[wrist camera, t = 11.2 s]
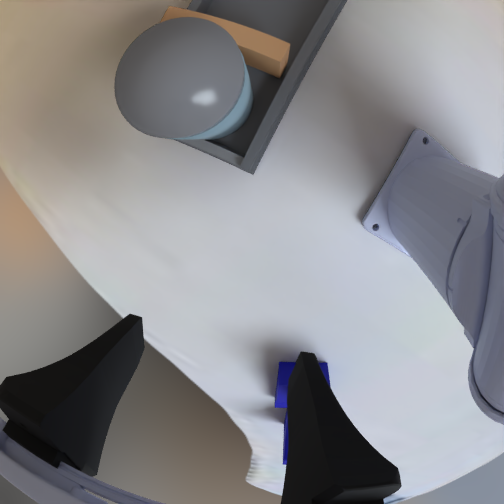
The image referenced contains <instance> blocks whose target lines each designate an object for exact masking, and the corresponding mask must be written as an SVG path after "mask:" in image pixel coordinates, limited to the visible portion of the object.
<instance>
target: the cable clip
mask: <svg viewBox="0 0 504 504" xmlns="http://www.w3.org/2000/svg"><path fill="white" fill-rule="evenodd" d="M295 364H296V362H279V368H278V377H277V386H276V394H275V408H287V390H288V379H289V377H290V375H291V373H292V370H293V368H294V366H295ZM319 365H320V367H321V370H322V372H323V374H324V376H325V378H326V380H327V382H328V384H329V386H330V380H329V372H328V365H327V363H319ZM330 388H331V387H330ZM287 455H288V417H287V412H286V417H285V422H284V444H283V464H285V465H287Z"/></svg>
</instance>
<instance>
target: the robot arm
mask: <svg viewBox="0 0 504 504" xmlns="http://www.w3.org/2000/svg"><path fill="white" fill-rule="evenodd" d="M424 137H425V138H426V143H425V144H424V143H423V138H424ZM374 224H378V226H377V228H376V229H372V227H373V225H374ZM362 225H363V227H364V228H365V229H366V230H367V231H369V232H371V233H372V234H374V235H376V236H377V237H379V238H381V239H382V240H384V241H386V242H387V243H389V244H391V245H392V246H394V247H395V248H397V249H399V250H400V251H402V252H403V253H405V254H407V255H408V256H410V257H411V258H413V260H414V261H415V262H416V263H417V264H418V266H419V267H420V268H421V270H422V271H423V272H424V273H425V275H426V276H427V277H428V279H429V280H430V281H431V282H432V284H433V285H434V286H435V288H436V289H437V290H438V292H439V293H440V295H441V296H442V297H443V299H444V300H445V301H446V303H447V304H448V306H449V307H450V309H451V310H452V311H453V313H454V314H455V316H456V317H457V319H458V320H459V322H460V323H461V324H462V325H463V326H464V328H465V329H464V334H465V335H466V337H467V339H468V340H469V342H470V343H471V345H472V347H473V348H474V351H473V354H472V357H471V360H470V364H469V369H468V381H469V388H470V391H471V394H472V397H473V399H474V401H475V403H476V404H477V406H478V407H479V408H480V410H481V411H482V412H483V413H484V414H485V415H487V416H488V417H489V418H491V419H492V420H494V421H495V422H498V423H501V424H503V425H504V174H503V175H502V177H501V178H497V177H495V176H493V175H490V174H488V173H485V172H483V171H480V170H477V169H475V168H472V167H470V166H467V165H464V164H461V163H460V162H459V161H458V160H457V159H456V158H454V157H453V156H452V155H451V154H450V153H449V152H448V151H447V150H446V149H445V148H443V147H442V146H441V145H440V144H439V143H438V142H437V141H435V140H434V139H433V138H432V137H431V136H429V135H428V134H427V133H426V132H424V131H423V130H421V129H416V130H414V131H413V133H412V134H411V136H410V138H409V140H408V142H407V144H406V146H405V148H404V150H403V151H402V153H401V155H400V157H399V159H398V160H397V162H396V164H395V166H394V168H393V169H392V171H391V173H390V175H389V176H388V178H387V180H386V182H385V183H384V185H383V187H382V188H381V190H380V192H379V194H378V195H377V197H376V199H375V200H374V202H373V204H372V205H371V207H370V208H369V210H368V212H367V213H366V215H365V217H364V218H363V220H362ZM143 351H144V337H143V324H142V317H139V316H136V315H133V314H129V315H128V316H126V317H125V318H124V319H122V320H121V321H120V322H119V323H117V324H116V325H115V326H113V327H112V328H111V329H109V330H108V331H107V332H105V333H104V334H102V335H101V336H100V337H98V338H97V339H96V340H94V341H93V342H91V343H90V344H88V345H86V346H85V347H83V348H82V349H80V350H78V351H77V352H75V353H73V354H72V355H70V356H68V357H66V358H64V359H62V360H60V361H57V362H55V363H53V364H51V365H48V366H46V367H43V368H40V369H37V370H34V371H31V372H27V373H23V374H19V375H14V376H9V377H6V378H5V380H4V381H3V382H2V384H1V385H0V408H1V410H2V411H3V412H4V413H5V415H6V416H7V417H8V418H9V420H8V422H7V423H6V422H5V421H4V420H3V419H2V418H0V474H1V475H2V476H3V477H4V478H5V479H7V480H8V481H9V482H10V483H12V484H13V485H14V486H15V487H17V488H18V489H19V490H21V491H22V492H23V493H25V494H26V495H27V496H29V497H30V498H32V499H33V500H35V501H36V502H37V503H39V504H108V503H107V502H106V501H104V500H102V499H100V498H98V497H96V496H94V495H92V494H90V493H88V492H86V491H85V490H84V489H86V490H88V491H90V492H92V493H94V494H97V495H99V496H101V497H103V498H106V499H108V500H111V501H113V502H115V503H118V504H164V503H161V502H157V501H154V500H151V499H148V498H144V497H141V496H138V495H136V494H133V493H130V492H127V491H124V490H122V489H119V488H116V487H114V486H112V485H109V484H107V483H105V482H102V481H100V480H98V479H96V478H93V476H95V475H97V472H98V467H99V463H100V458H101V454H102V450H103V446H104V442H105V439H106V436H107V432H108V429H109V426H110V423H111V420H112V418H113V414H114V412H115V409H116V407H117V405H118V403H119V401H120V399H121V396H122V395H123V393H124V391H125V389H126V387H127V385H128V383H129V382H130V380H131V378H132V376H133V374H134V372H135V370H136V368H137V366H138V364H139V361H140V358H141V356H142V353H143ZM287 417H288V455H287V465H286V474H285V481H284V488H283V494H282V500H281V504H384V501H383V499H384V498H386V497H387V496H389V495H391V494H393V493H395V492H396V491H398V490H399V489H400V488H401V480H400V474H399V471H398V468H397V467H396V466H395V465H393V464H392V463H391V462H389V461H388V460H387V459H386V458H384V457H383V456H382V455H381V454H380V453H379V452H378V451H377V450H376V449H374V448H373V447H372V446H371V445H370V443H369V442H368V441H367V440H366V439H365V438H364V437H363V436H362V435H361V434H360V432H359V431H358V430H357V429H356V427H355V426H354V425H353V424H352V422H351V421H350V419H349V418H348V417H347V415H346V414H345V412H344V411H343V409H342V407H341V406H340V404H339V402H338V401H337V399H336V397H335V395H334V394H333V392H332V390H331V388H330V386H329V384H328V382H327V380H326V378H325V376H324V374H323V372H322V370H321V367H320V365H319V363H318V361H317V358H316V356H315V354H314V353H308V352H300V355H299V357H298V359H297V361H296V364H295V366H294V368H293V370H292V373H291V375H290V377H289V379H288V390H287Z"/></svg>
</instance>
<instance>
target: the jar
mask: <svg viewBox="0 0 504 504" xmlns="http://www.w3.org/2000/svg"><path fill="white" fill-rule="evenodd" d="M115 97H116V101H117V104H118V107H119V109H120V111H121V113H122V115H123V116H124V118H125V119H126V120H127V121H128V122H129V123H130V124H131V125H132V126H133V127H134V128H136V129H137V130H139V131H141V132H143V133H145V134H147V135H150V136H154V137H159V138H167V139H199V140H212V139H219V138H223V137H226V136H228V135H230V134H232V133H234V132H235V131H237V130H238V129H239V128H240V127H241V126H242V125H243V124H244V123H245V122H246V121H247V119H248V117H249V116H250V113H251V111H252V108H253V103H254V92H253V88H252V84H251V81H250V77H249V74H248V71H247V67H246V64H245V61H244V57H243V55H242V53H241V51H240V49H239V47H238V45H237V43H236V41H235V40H234V39H233V37H232V36H231V35H230V34H229V33H228V32H227V31H226V30H225V29H224V28H222V27H221V26H219V25H218V24H216V23H214V22H211V21H209V20H206V19H202V18H196V17H180V18H174V19H170V20H166V21H163V22H161V23H159V24H156V25H154V26H153V27H151V28H149V29H148V30H146V31H145V32H143V33H142V34H141V35H140V36H138V37H137V38H136V39H135V40H134V41H133V42H132V44H131V45H130V46H129V47H128V49H127V50H126V51H125V53H124V55H123V57H122V58H121V61H120V63H119V65H118V68H117V72H116V77H115Z"/></svg>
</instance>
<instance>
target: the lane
mask: <svg viewBox="0 0 504 504" xmlns="http://www.w3.org/2000/svg"><path fill="white" fill-rule="evenodd" d="M346 2H347V0H192V2H191V3H190V5H189V7H188V8H187V10H191V11H195V12H199V13H203V14H207V15H211V16H214V17H218V18H221V19H225V20H228V21H231V22H234V23H237V24H240V25H243V26H246V27H249V28H252V29H255V30H258V31H260V32H263V33H265V34H268V35H271V36H273V37H276V38H278V39H280V40H283V41H285V42H287V43H290V50H289V56H288V63H287V66H286V68H285V70H284V72H283V74H282V76H281V77H280V79H279V78H277V77H275V76H273V75H270V74H268V73H266V72H263V71H261V70H259V69H256V68H254V67H251V66H249V65H246V67H247V71H248V74H249V77H250V81H251V84H252V88H253V92H254V103H253V108H252V111H251V113H250V116H249V117H248V119H247V121H246V122H245V123H244V124H243V125H242V126H241V127H240V128H239V129H238V130H237V131H235V132H234V133H232V134H230V135H228V136H226V137H223V138H219V139H212V140H199V139H174V140H176V141H179V142H181V143H183V144H186V145H188V146H190V147H193V148H195V149H198V150H200V151H202V152H204V153H207V154H209V155H211V156H214V157H216V158H218V159H220V160H222V161H225V162H227V163H229V164H231V165H233V166H236V167H238V168H240V169H242V170H244V171H246V172H248V173H251V174H254V172H255V170H256V168H257V166H258V164H259V162H260V160H261V158H262V156H263V154H264V152H265V150H266V148H267V146H268V144H269V142H270V141H271V139H272V137H273V135H274V133H275V131H276V129H277V127H278V125H279V123H280V121H281V119H282V117H283V115H284V113H285V112H286V110H287V108H288V106H289V104H290V102H291V100H292V98H293V96H294V94H295V93H296V91H297V89H298V87H299V85H300V83H301V81H302V80H303V78H304V76H305V74H306V72H307V70H308V69H309V67H310V65H311V63H312V61H313V59H314V58H315V56H316V54H317V52H318V50H319V49H320V47H321V45H322V43H323V42H324V40H325V38H326V36H327V34H328V33H329V31H330V29H331V27H332V26H333V24H334V22H335V20H336V19H337V17H338V15H339V14H340V12H341V10H342V8H343V7H344V5H345V3H346Z"/></svg>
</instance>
